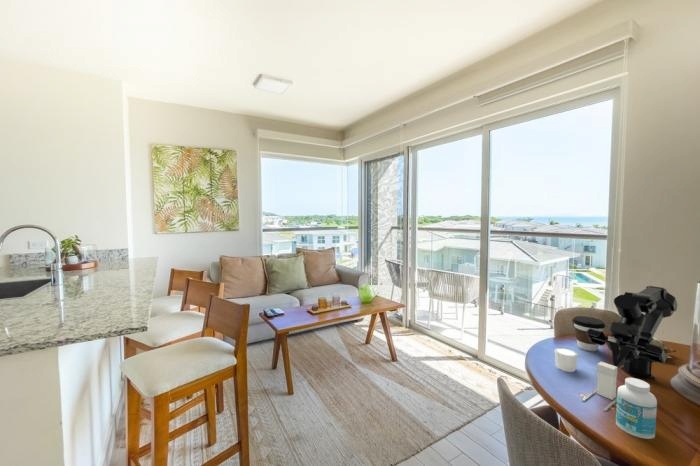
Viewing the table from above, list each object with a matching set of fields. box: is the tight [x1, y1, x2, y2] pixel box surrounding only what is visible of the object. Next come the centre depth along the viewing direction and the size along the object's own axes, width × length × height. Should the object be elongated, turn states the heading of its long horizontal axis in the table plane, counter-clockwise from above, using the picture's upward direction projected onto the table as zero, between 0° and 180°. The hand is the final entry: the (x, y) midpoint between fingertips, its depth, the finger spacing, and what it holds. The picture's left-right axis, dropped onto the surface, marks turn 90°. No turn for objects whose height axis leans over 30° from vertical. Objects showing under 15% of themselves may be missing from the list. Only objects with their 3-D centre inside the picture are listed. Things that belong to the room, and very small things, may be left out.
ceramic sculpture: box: [652, 336, 677, 360], centre depth 121 cm, size 11×9×15 cm
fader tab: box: [596, 361, 619, 401], centre depth 92 cm, size 3×4×10 cm
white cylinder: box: [554, 347, 579, 373], centre depth 109 cm, size 7×7×7 cm
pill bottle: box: [615, 377, 658, 440], centre depth 78 cm, size 8×7×14 cm
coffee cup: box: [571, 315, 606, 352], centre depth 126 cm, size 11×11×12 cm
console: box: [579, 388, 617, 412], centre depth 91 cm, size 14×9×1 cm, turn 121°
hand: (615, 367), depth 95 cm, fingers closed
